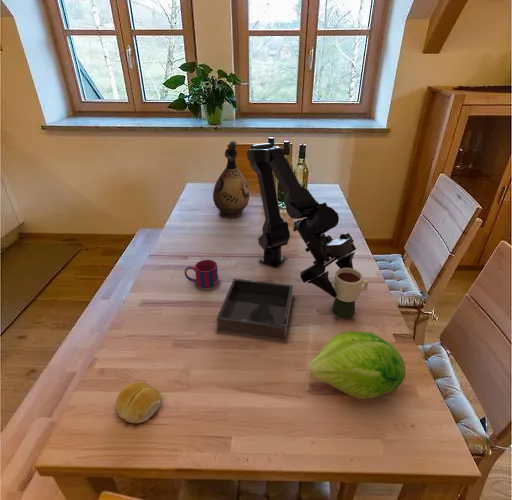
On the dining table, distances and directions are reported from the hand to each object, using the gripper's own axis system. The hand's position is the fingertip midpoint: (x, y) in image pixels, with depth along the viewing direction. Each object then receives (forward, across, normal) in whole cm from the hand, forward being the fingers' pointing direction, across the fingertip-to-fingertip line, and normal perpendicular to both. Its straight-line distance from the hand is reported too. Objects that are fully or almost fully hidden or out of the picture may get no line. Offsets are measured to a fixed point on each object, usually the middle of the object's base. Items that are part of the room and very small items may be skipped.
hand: (345, 288), depth 94 cm
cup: (-21, -18, +33) cm, 44 cm away
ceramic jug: (-44, +23, +55) cm, 74 cm away
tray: (-6, -17, +18) cm, 25 cm away
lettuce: (+16, -18, -4) cm, 25 cm away
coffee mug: (+6, 0, +6) cm, 9 cm away
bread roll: (-4, -54, +16) cm, 57 cm away
